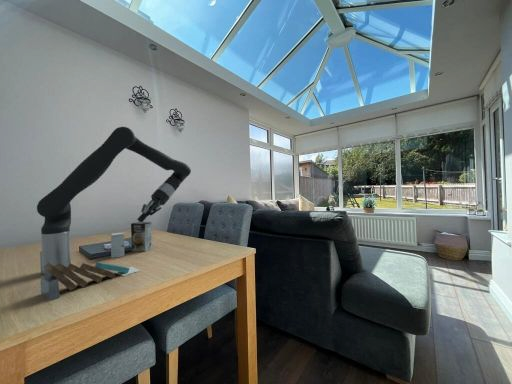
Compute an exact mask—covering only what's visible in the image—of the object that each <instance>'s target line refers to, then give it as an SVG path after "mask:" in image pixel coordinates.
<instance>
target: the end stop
mask: <svg viewBox="0 0 512 384" xmlns="http://www.w3.org/2000/svg"><path fill="white" fill-rule="evenodd" d="M40 294H41V296H43V297H44V298H45V299H46V300H48V301H53V300H57V299H59V298H60V281H59V279H58V278H56V277H54V276H53V275H51V274H49V275H42V276H40Z"/></svg>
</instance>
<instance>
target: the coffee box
mask: <svg viewBox="0 0 512 384" xmlns="http://www.w3.org/2000/svg"><path fill="white" fill-rule="evenodd" d="M130 235H131V236H130V237H131V239H130V241H131V252H148V251H150V250H152V249H153V238H152V237H153V235H152V222H149V221H146V222H145V221H143V222H139V221H138V222H132V223H130ZM132 247H133V248H132Z"/></svg>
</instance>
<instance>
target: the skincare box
mask: <svg viewBox="0 0 512 384" xmlns="http://www.w3.org/2000/svg"><path fill="white" fill-rule="evenodd" d="M110 251H111V252H110V253H111V254H110V256H111V257H110V258H111V259H114V258H119V257H125V232H118V233H111V235H110Z"/></svg>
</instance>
